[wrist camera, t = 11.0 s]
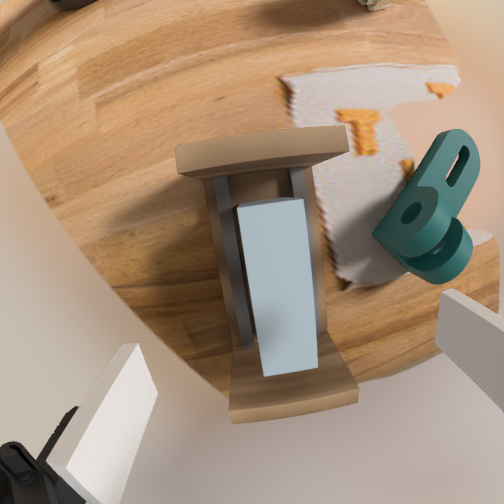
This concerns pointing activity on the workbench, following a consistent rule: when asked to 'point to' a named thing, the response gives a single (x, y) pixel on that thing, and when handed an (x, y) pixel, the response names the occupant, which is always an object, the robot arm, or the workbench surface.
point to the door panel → (280, 283)
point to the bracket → (434, 211)
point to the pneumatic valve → (376, 4)
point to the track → (234, 267)
